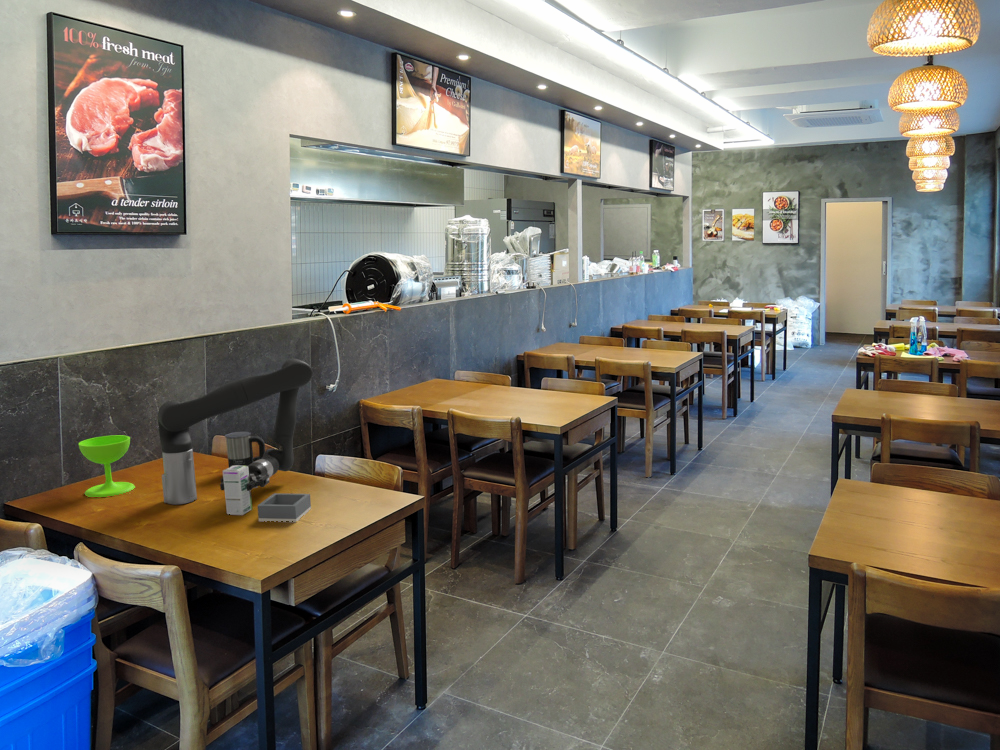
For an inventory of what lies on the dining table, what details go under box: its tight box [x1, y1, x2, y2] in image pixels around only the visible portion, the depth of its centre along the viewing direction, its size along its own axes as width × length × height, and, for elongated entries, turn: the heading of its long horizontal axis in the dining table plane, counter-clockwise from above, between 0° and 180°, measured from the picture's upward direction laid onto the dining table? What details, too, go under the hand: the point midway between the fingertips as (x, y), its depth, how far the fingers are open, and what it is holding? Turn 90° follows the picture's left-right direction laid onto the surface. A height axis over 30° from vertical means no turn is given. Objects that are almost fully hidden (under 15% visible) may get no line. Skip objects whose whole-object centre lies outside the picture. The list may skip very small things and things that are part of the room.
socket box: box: [257, 492, 312, 523], centre depth 235 cm, size 12×12×5 cm
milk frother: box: [224, 431, 266, 468], centre depth 287 cm, size 14×16×15 cm
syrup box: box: [222, 465, 253, 516], centre depth 238 cm, size 6×6×14 cm
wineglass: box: [78, 434, 136, 498], centre depth 264 cm, size 16×16×18 cm
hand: (234, 487), depth 236 cm, fingers open, 8 cm apart
